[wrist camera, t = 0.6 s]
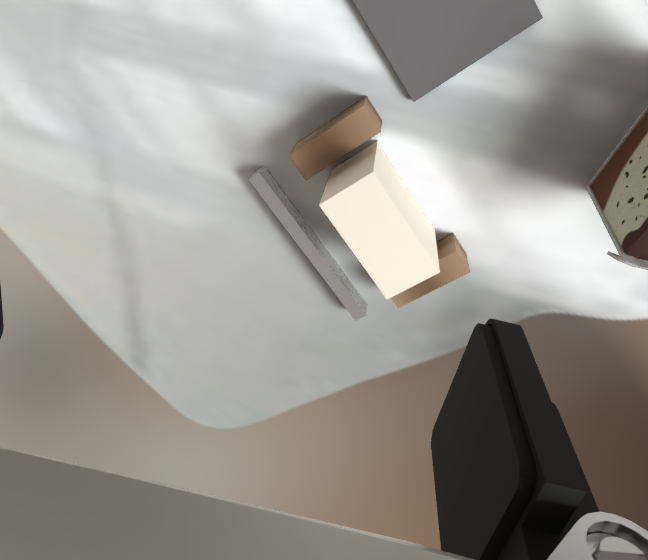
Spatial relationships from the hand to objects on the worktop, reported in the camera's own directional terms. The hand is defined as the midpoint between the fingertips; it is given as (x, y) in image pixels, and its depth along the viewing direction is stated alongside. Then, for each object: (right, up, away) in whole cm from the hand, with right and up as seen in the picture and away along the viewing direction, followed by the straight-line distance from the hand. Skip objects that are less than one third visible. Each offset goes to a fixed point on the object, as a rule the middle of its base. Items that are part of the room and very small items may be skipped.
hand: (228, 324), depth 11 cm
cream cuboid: (+6, +7, +31) cm, 32 cm away
